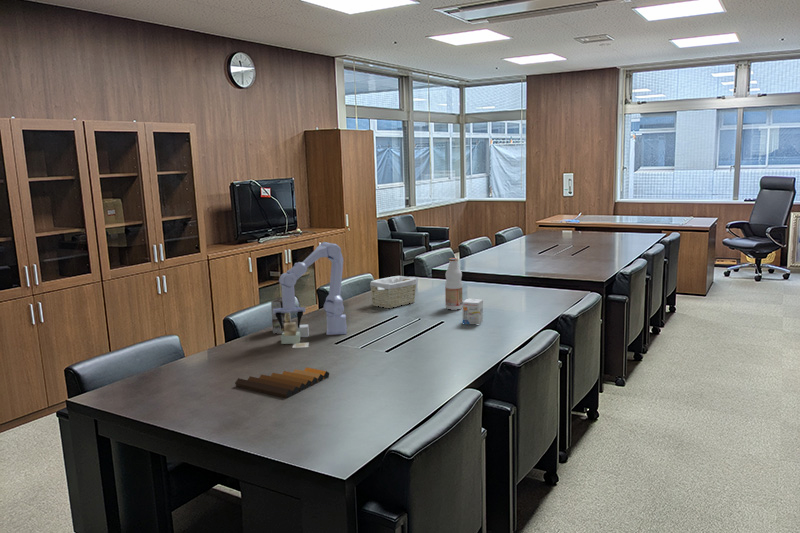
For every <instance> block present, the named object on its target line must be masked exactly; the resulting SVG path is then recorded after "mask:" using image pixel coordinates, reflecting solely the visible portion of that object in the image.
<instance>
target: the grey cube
mask: <svg viewBox="0 0 800 533" xmlns="http://www.w3.org/2000/svg"><path fill="white" fill-rule="evenodd" d="M296 332H300V338H308V337H309V335H310V330H309V323H308V324H307V323H306V324H300V328H298V325H296Z"/></svg>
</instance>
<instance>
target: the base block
mask: <svg viewBox="0 0 800 533" xmlns="http://www.w3.org/2000/svg"><path fill="white" fill-rule="evenodd" d="M280 339H281V340H280V341H281V342H280V344H281V345H284V344H285V345H288V344H291V345H293V344H294V343H301V342H300V341H301V337H300V332H297V331H296V335H290V336H285V334H284V333H282V334H281V336H280Z"/></svg>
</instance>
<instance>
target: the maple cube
mask: <svg viewBox="0 0 800 533" xmlns="http://www.w3.org/2000/svg"><path fill="white" fill-rule="evenodd" d="M296 332H297V322H292V321H291V323H285V324H284V334H285V336H290V335H296Z"/></svg>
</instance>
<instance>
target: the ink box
mask: <svg viewBox="0 0 800 533" xmlns="http://www.w3.org/2000/svg"><path fill="white" fill-rule="evenodd" d="M461 310H462V324H463V323H464V324H463V325H465V324H480V323H481V322H482V321H483V318H484V315H483V314H484V300H483V299H478V298H477V299H476V298H466V299H465V300H464V299H463V300H462V309H461ZM482 323H483V322H482ZM480 325H481V324H480Z"/></svg>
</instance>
